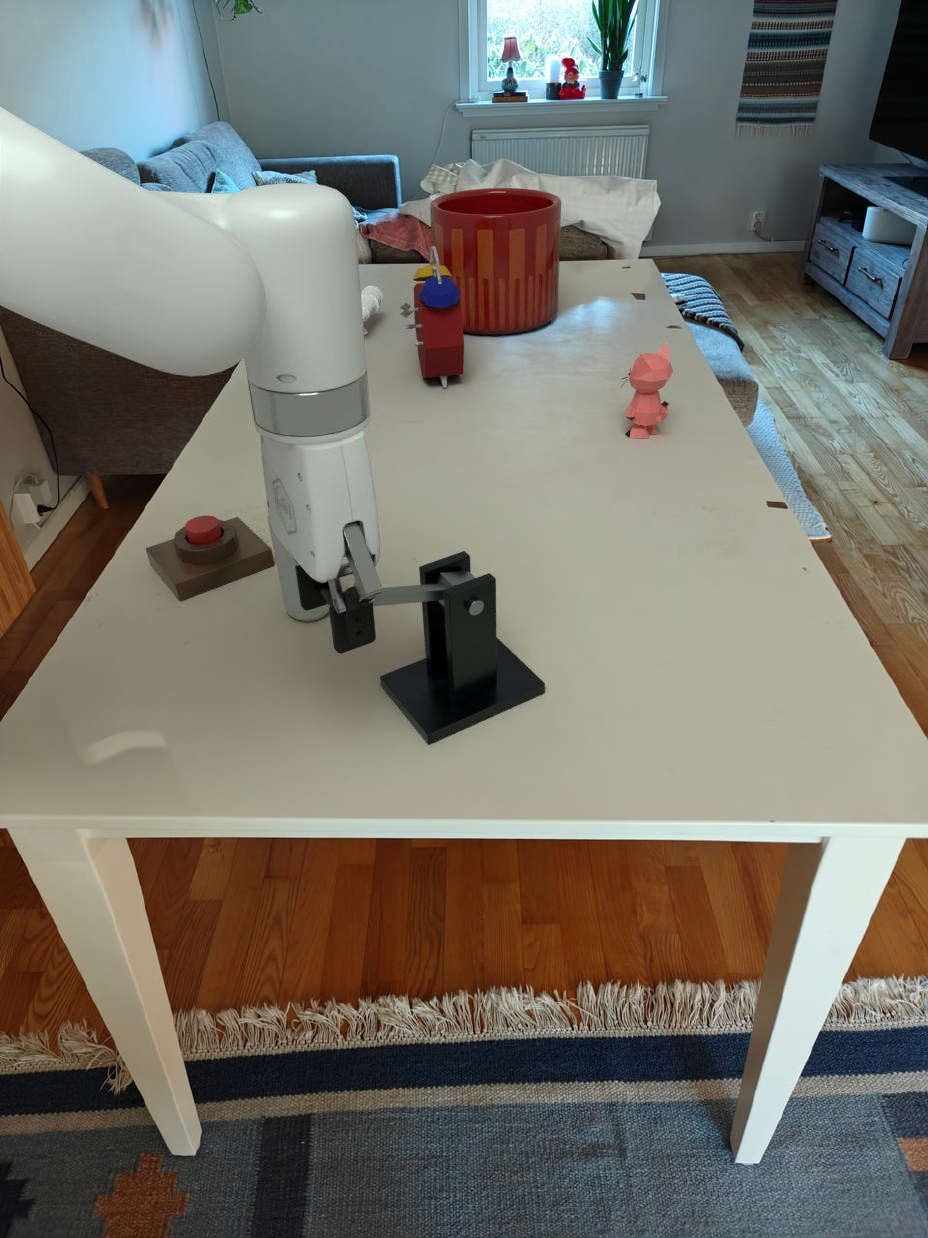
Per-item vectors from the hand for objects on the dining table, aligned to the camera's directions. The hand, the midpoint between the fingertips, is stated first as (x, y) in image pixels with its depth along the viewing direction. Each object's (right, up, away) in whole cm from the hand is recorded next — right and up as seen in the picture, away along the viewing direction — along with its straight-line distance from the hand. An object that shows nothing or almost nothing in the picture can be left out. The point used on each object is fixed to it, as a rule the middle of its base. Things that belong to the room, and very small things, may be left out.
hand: (337, 622), depth 66 cm
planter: (+16, +57, +95) cm, 112 cm away
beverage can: (-6, +1, +22) cm, 23 cm away
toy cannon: (-10, +53, +91) cm, 105 cm away
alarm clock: (+5, +39, +72) cm, 82 cm away
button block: (-18, +6, +29) cm, 35 cm away
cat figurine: (+35, +26, +53) cm, 69 cm away
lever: (+5, +1, +3) cm, 6 cm away
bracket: (+10, -6, +12) cm, 16 cm away
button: (-19, +9, +27) cm, 34 cm away
